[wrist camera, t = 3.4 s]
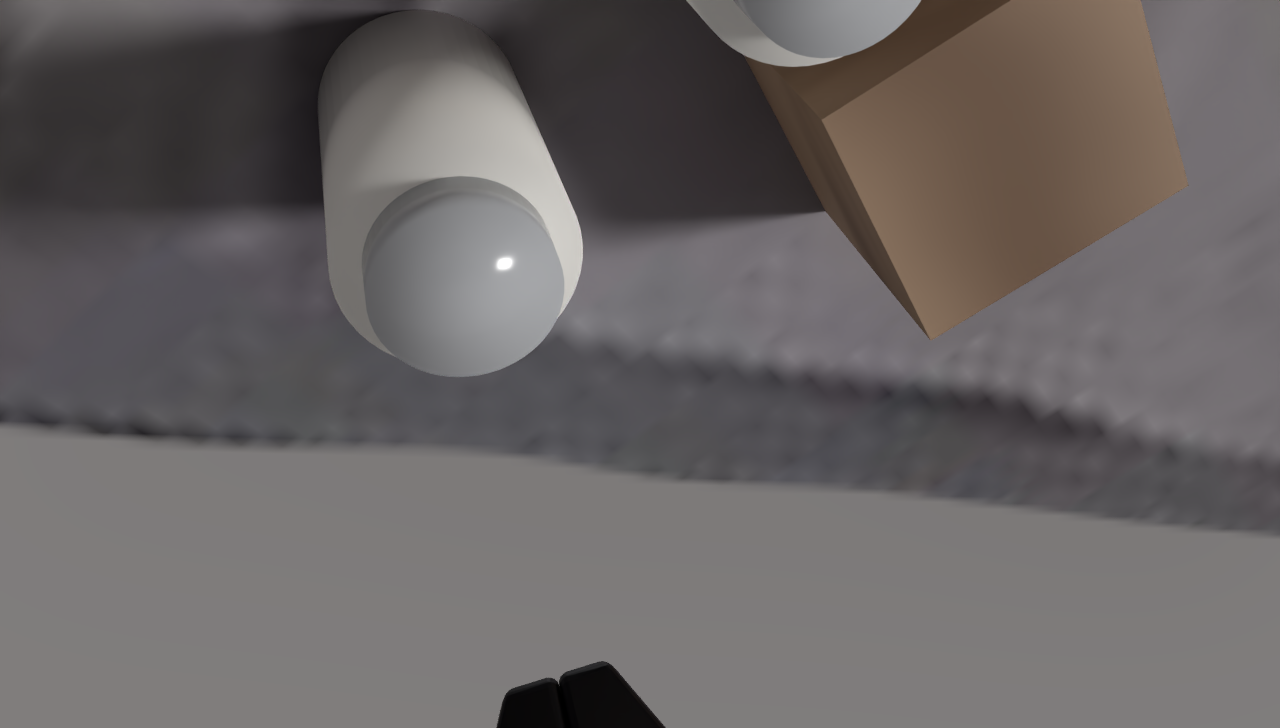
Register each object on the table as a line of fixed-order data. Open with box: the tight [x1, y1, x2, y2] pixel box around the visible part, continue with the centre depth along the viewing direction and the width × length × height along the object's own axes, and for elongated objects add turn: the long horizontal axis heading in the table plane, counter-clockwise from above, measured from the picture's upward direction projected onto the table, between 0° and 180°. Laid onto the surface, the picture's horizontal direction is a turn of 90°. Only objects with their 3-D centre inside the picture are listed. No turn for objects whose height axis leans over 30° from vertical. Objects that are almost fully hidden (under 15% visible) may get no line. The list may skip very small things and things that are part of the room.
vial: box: [318, 10, 583, 377], centre depth 16 cm, size 3×3×6 cm
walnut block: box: [744, 0, 1188, 340], centre depth 18 cm, size 4×4×4 cm
